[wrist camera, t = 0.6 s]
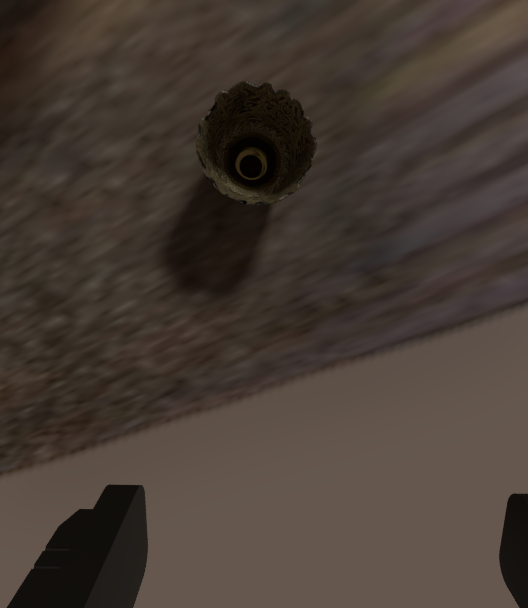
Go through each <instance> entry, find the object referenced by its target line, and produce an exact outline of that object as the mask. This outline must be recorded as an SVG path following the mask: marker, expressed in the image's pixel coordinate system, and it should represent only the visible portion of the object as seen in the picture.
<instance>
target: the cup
mask: <svg viewBox="0 0 528 608" xmlns="http://www.w3.org/2000/svg"><path fill="white" fill-rule="evenodd" d="M303 115H304V111H303V110H302V106H301V103H300V102H299V101H298V100H294V99H292V96H291V94H290V93H289V92H288V91H287V90H278V91H276V92H274V91H273V89H272V85H271V83H269V82H265V83H264V84H263V85H261V86H256V85H254V84H253V83H251V82H247V81H242V82H239V83H238V84H236V85H234V86H233V87H232V88H231V89H230V90H228V91H227V92H226V91H222V92H220V93H218V94H217V95H216V97H215V104H214V106H213V107H212V108H211V109H210V110H209V111H208V114H207V116H206V118H205V119H204V118H201V120H200V123H199V127H198V132H199V134H198V137H197V141H196V149H197V154H198V157H199V160H200V162H201V164H202V167H203V169H204V170H203V172H204V174H205V176H206V177H207V178H208V179H209V180H210V181H211V182H212V183H213V185H214V187H215V188H216V189H217V190H218V191H219V192H220V193H221V194H223V195H225V196H226V197H228V198H230V199H232V200H234V201H237V202H240V203H244V204H247V205H267V204H273V203H276V202H278V201H281V200H282V199H284V198H286V197H287V196H289V195H290V194H293V193H294V192H295V191H296V190H297V189H298V188H299V187H300V186H299V184H300V183H301V181H302V180H303V179H304V177H305V175H306V172H307V171H308V170H309V169H310V167H311V166H312V164H313V159H312V158H313V156H314V153H315V151H316V148H317V141H316V138H315V137H314V135H313V134H312V132H311V128H312V120H311V119H310V118H309V117H306V118H304V117H303ZM247 156H255V157H257V158H258V159H259V161H260V162H261V170H260V172H259V174H258V175H256V176H254V177H248V176H246V175H245V174H243V172H242V170H241V162H242V160H243V159H244V158H245V157H247Z"/></svg>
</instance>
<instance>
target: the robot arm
mask: <svg viewBox="0 0 528 608" xmlns="http://www.w3.org/2000/svg"><path fill="white" fill-rule="evenodd" d="M147 551H148V539H147V522H146V505H145V491H144V488H143V486H142V485H108V486H106V487H105V489H104V491H103V492H102V494H101V496H100V498H99V500H98V501H97V503H96V505H95V507H94V508H93V509H79V510H78V511H77V512H75V513H74V514H73V515H72V516H71V517H70V518H68V519H67V520H66V521H65V522H63V523H62V524H61V525H60V526H59V527H58V528H57V530H56V531H55V533H54V535H53V536H52V538H51V540H50V541H49V542H48V544H47V546H46V549H45V551H43V552H42V554H41V555H40V557H39V558H38V560H37V561H36V563H35V564H34V569H31V571H30V572H29V574H28V575H27V577H26V579H25V580H24V582H23V583H22V585H21V586H20V588H19V589H18V591H17V593H16V594H15V596H14V597H13V599H12V601H11V602H10V604H9V605H8V607H7V608H133V606H134V603H135V600H136V597H137V594H138V591H139V588H140V585H141V582H142V579H143V576H144V572H145V567H146V562H147ZM499 560H500V567H501V572H502V575H503V578H504V581H505V583H506V585H507V587H508V589H509V591H510V592H511V594H512V596H513V597H514V599H515V601H516V602H517V604H518V606H519V607H520V608H528V494H512V495H511V496H510V497H509V499H508V502H507V508H506V515H505V521H504V527H503V533H502V539H501V546H500V553H499Z"/></svg>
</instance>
